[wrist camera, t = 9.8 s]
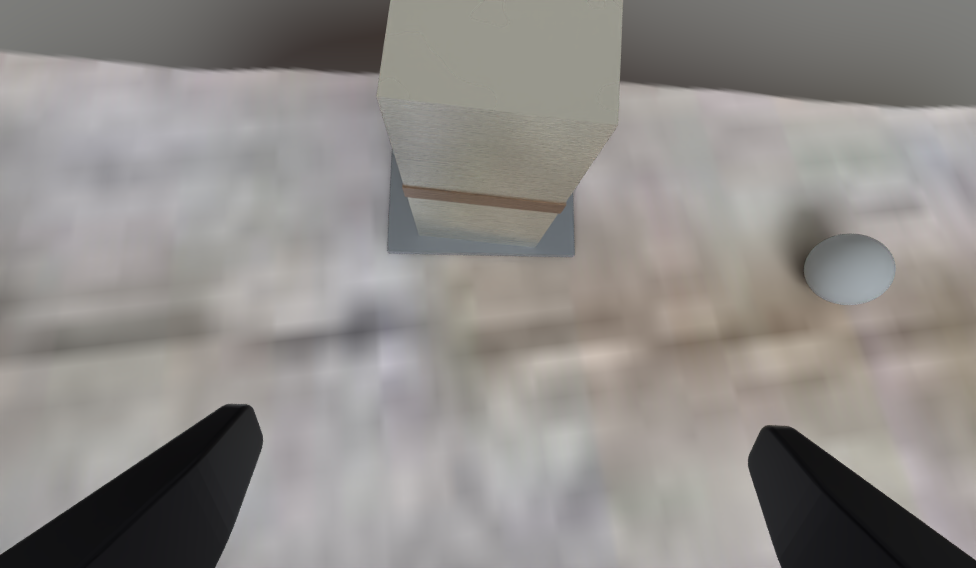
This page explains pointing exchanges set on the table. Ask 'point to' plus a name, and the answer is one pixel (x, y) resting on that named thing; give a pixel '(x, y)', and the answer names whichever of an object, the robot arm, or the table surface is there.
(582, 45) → the striped paper box
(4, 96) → the table surface
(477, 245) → the slate mat
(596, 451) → the table surface
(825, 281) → the gray ball
